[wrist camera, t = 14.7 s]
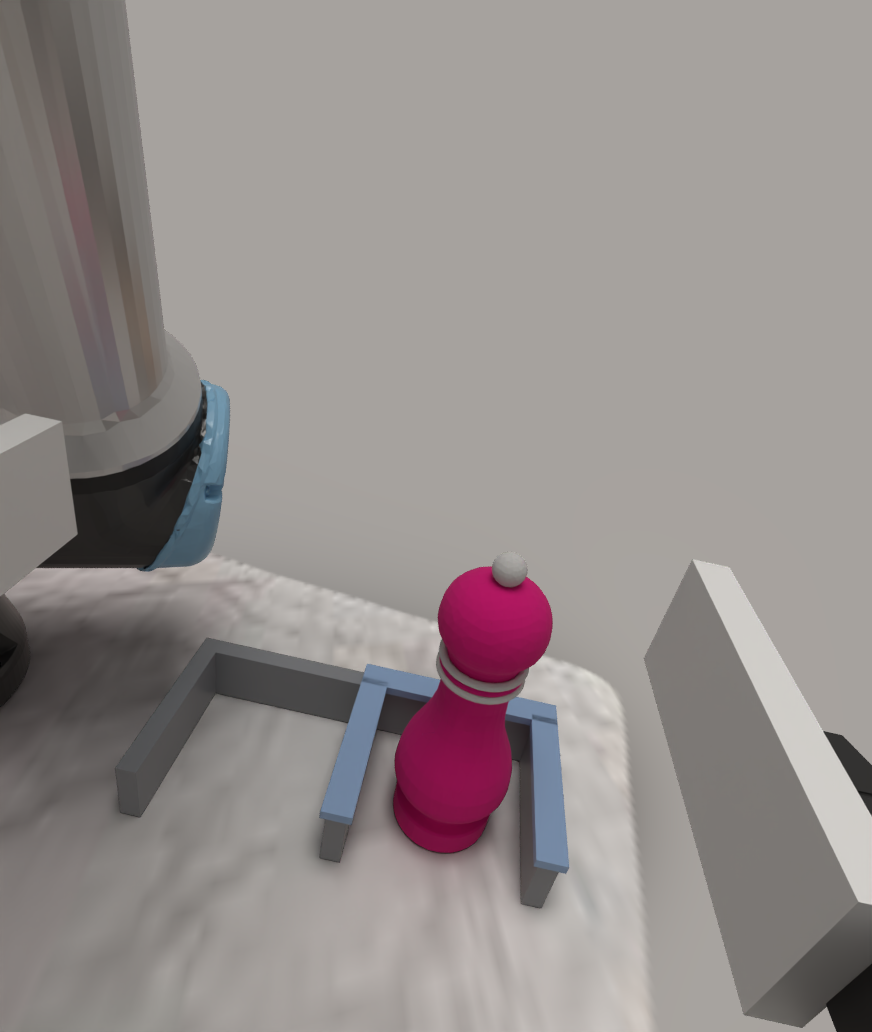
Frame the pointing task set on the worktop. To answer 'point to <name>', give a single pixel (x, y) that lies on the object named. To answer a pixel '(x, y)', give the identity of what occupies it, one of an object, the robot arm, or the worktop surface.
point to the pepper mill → (470, 706)
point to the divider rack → (351, 741)
